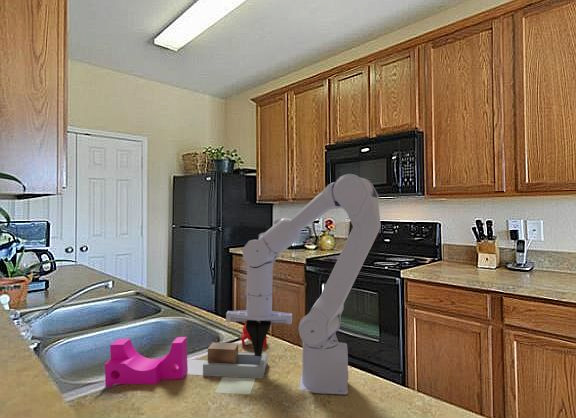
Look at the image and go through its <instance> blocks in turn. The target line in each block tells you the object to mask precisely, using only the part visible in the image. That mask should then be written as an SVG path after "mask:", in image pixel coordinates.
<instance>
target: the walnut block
mask: <svg viewBox="0 0 576 418" xmlns="http://www.w3.org/2000/svg"><path fill="white" fill-rule="evenodd" d="M238 353H239V343H238V342H216V341H215V342H211V344H209V346H208V348H207V360H208V363H226V364H238Z"/></svg>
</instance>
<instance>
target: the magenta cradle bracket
mask: <svg viewBox="0 0 576 418" xmlns="http://www.w3.org/2000/svg"><path fill="white" fill-rule="evenodd" d="M131 339H132V338H118V339H116V340H115V341H113V342H112V343H110V344H109V345H110V346H109V347H110V348H109V349H110V350H109V352H110V359H109V360H108V361H106V362H105V363H104V379H105V381H104V382H105V384H104V385H105V387H113V386H114V385H115V384H116V385H119V384H121V385H124V384H125V385H157V384H158V383H159V381H160V380H177V379H178V380H180V379H181V380H183V379H184V378H185V376H186V375H185V374H186V373H187V371H188V368H187V360H188V349H187V348H188V346H187V345H188V343H187V342H188V341H187V340H188V339H187V336H177V337H176V338H175V339H174V340H173V341H172V342H171V347H170V350H169V351H168V353H167V354H166V355H164V356H163V357H158V358H148V357H145V356H143V355H141V354H140V353H139V352H138V351H137V350H136V349H135V347H134V345H133V344H132V340H131Z"/></svg>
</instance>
